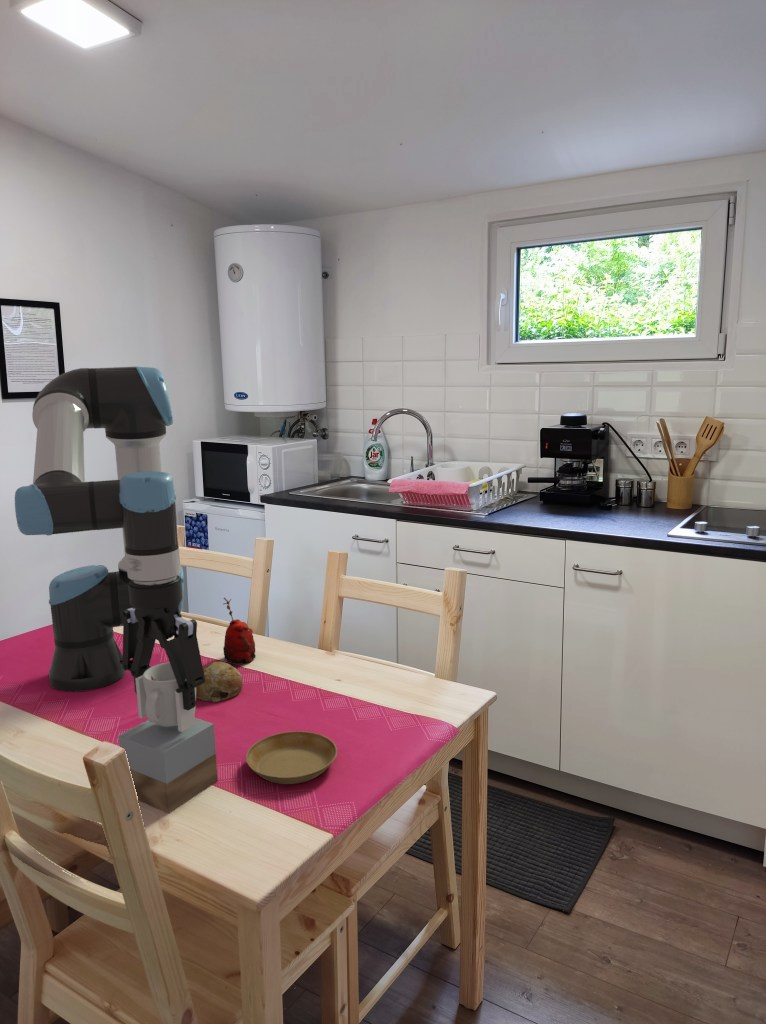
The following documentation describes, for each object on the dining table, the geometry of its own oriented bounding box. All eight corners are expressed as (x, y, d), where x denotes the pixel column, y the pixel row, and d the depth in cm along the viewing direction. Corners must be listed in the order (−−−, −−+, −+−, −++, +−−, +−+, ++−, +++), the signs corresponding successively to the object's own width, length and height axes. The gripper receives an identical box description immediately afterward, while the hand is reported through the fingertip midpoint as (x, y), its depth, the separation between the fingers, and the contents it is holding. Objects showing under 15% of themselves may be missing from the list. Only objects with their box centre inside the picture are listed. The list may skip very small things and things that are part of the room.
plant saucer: (293, 736, 131) (293, 722, 131) (356, 762, 122) (355, 748, 122) (227, 771, 120) (226, 756, 120) (290, 803, 111) (290, 788, 111)
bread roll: (197, 720, 145) (199, 692, 141) (184, 682, 153) (186, 654, 148) (246, 709, 150) (249, 681, 145) (231, 672, 157) (234, 645, 153)
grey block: (121, 765, 113) (118, 735, 112) (171, 737, 122) (168, 709, 121) (166, 783, 108) (163, 752, 107) (215, 753, 116) (213, 723, 115)
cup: (177, 743, 107) (172, 691, 106) (127, 739, 109) (121, 688, 107) (208, 709, 118) (205, 662, 116) (162, 706, 119) (158, 659, 118)
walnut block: (123, 795, 114) (121, 766, 113) (173, 765, 122) (171, 738, 121) (169, 815, 109) (166, 784, 108) (217, 782, 117) (215, 753, 116)
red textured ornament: (259, 662, 164) (255, 597, 161) (227, 668, 161) (223, 602, 158) (251, 651, 171) (248, 588, 168) (221, 656, 168) (216, 592, 165)
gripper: (87, 575, 111) (101, 715, 116) (186, 594, 101) (197, 748, 105) (127, 563, 118) (140, 696, 122) (224, 580, 107) (234, 726, 111)
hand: (166, 720), depth 114 cm, fingers closed on cup, 8 cm apart
